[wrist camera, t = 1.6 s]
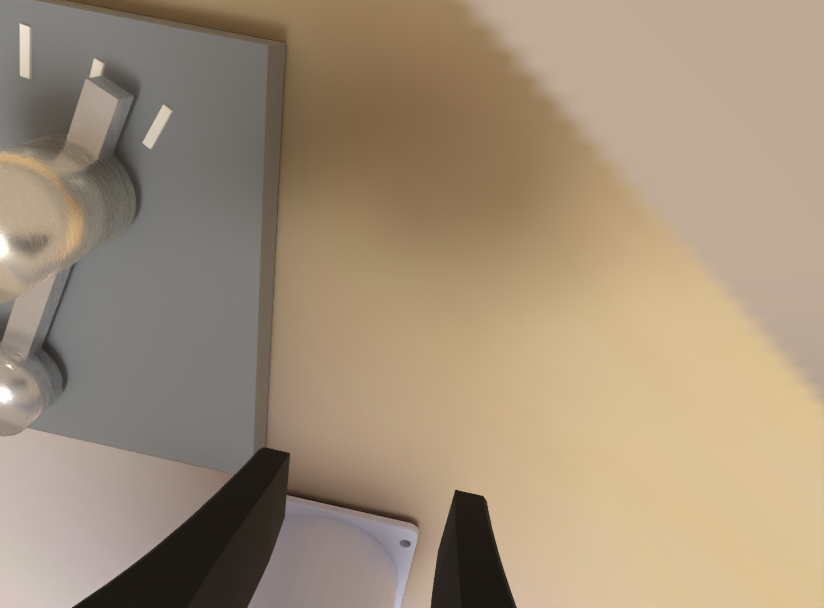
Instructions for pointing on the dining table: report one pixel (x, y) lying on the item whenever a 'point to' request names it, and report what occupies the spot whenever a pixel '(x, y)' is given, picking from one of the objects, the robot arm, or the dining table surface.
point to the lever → (55, 236)
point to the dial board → (161, 228)
